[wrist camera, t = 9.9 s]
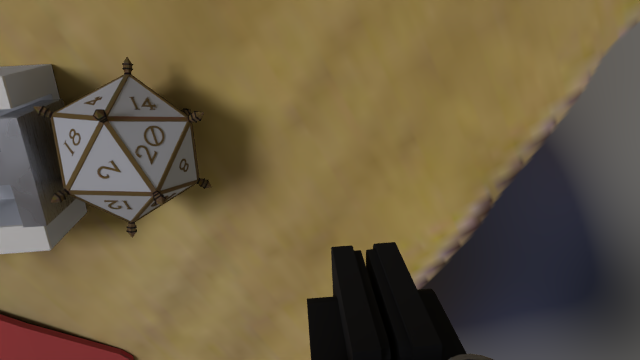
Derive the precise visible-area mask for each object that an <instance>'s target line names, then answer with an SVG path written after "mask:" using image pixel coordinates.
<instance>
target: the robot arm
mask: <svg viewBox="0 0 640 360" xmlns="http://www.w3.org/2000/svg"><path fill="white" fill-rule="evenodd" d="M331 255H332V278H333V297H323V298H311V299H307V307H308V321H309V336H310V350H311V360H493V359H491V358H488V357H485V356H482V355H475V354H466V352H465V350H464V348H463V346H462V344H461V342H460V340H459V339H458V336H457V334H456V332H455V330H454V329H453V327H452V325H451V323H450V321H449V319H448V317H447V315H446V313H445V311H444V309H443V307H442V305H441V304H440V302H439V300H438V298H437V296H436V294H435V292H434V291H433V290H432V289H421V290H417V288H416V286H415V284H414V282H413V280H412V278H411V275H410V273H409V271H408V269H407V267H406V265H405V263H404V260H403V258H402V256H401V254H400V252H399V250H398V247H397V245H396V243H395V242H392V243H378V244H374V245H373V249H371V250H366V266H365V263H364V259H363V256H362V253H361V250H358V251H354V250H353V247H352V246H339V247H332V248H331Z"/></svg>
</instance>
